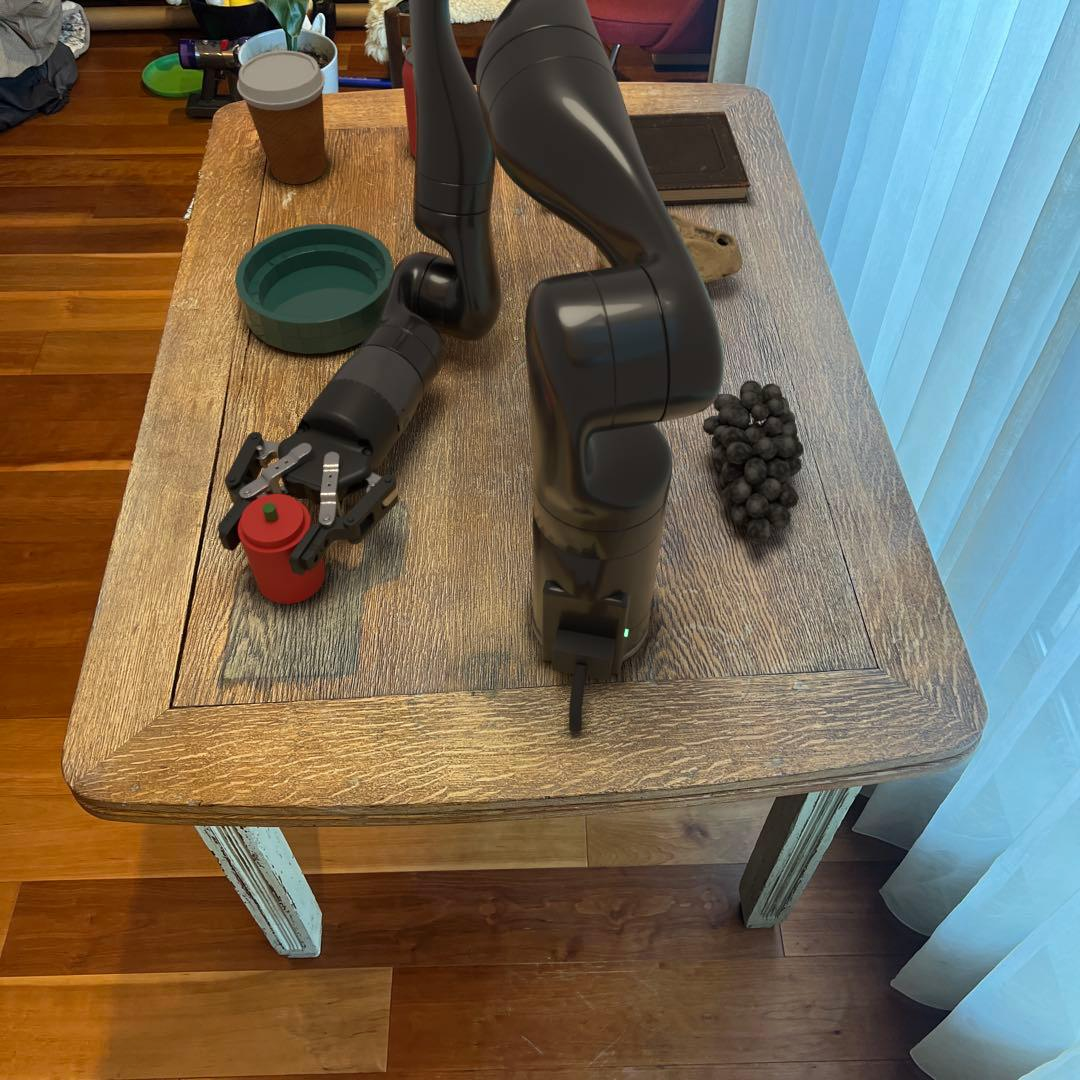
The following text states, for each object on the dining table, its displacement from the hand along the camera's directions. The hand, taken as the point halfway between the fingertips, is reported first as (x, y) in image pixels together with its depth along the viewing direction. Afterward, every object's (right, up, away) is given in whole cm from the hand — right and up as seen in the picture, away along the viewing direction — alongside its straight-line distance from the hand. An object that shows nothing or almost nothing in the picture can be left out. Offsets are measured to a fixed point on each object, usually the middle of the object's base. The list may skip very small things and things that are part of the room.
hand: (260, 555), depth 78 cm
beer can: (+9, +48, +45) cm, 66 cm away
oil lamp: (+35, +29, +30) cm, 54 cm away
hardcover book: (+33, +45, +43) cm, 70 cm away
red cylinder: (+1, -2, +6) cm, 6 cm away
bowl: (-1, +25, +27) cm, 37 cm away
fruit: (+40, +5, +12) cm, 42 cm away
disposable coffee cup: (-7, +45, +42) cm, 62 cm away
